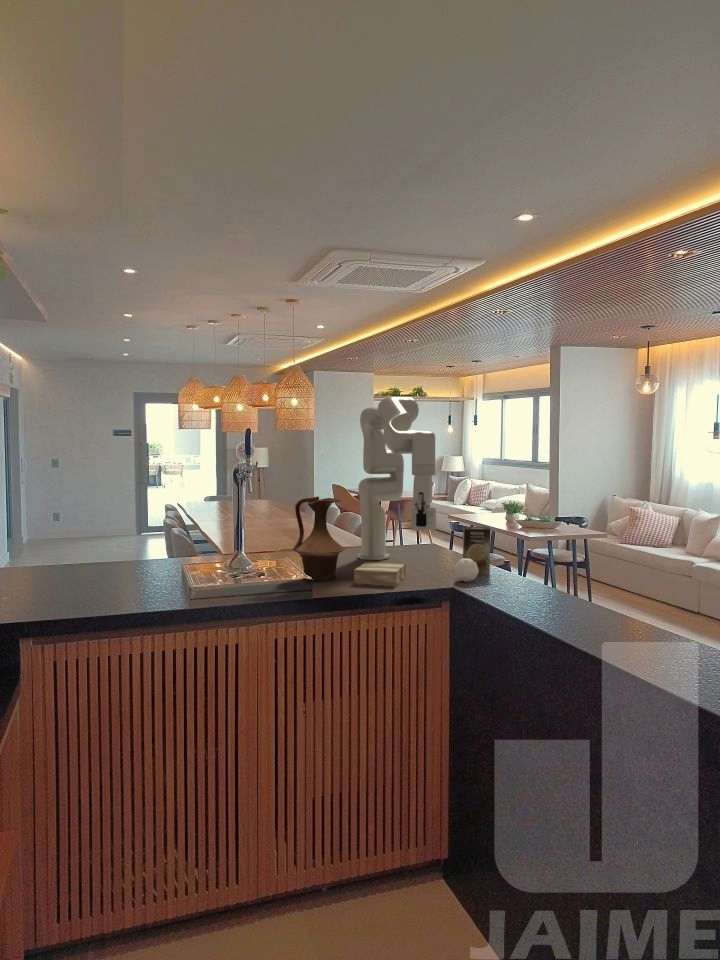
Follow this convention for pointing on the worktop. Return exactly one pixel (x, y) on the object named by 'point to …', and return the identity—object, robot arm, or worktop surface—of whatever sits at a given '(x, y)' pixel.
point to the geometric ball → (466, 570)
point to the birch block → (380, 573)
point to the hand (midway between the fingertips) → (423, 524)
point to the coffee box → (477, 547)
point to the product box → (429, 519)
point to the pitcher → (318, 542)
